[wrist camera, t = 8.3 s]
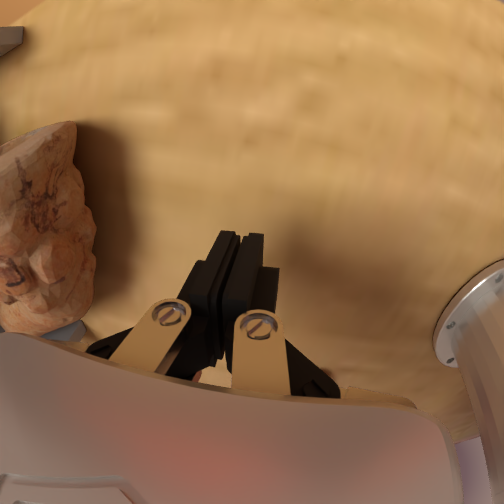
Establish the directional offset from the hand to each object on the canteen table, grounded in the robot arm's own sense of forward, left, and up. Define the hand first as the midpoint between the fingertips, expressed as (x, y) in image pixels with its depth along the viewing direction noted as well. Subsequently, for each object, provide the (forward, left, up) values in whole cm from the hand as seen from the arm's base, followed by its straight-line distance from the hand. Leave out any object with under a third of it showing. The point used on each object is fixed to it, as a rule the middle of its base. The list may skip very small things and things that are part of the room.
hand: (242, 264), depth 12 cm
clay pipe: (+16, +1, -6) cm, 17 cm away
